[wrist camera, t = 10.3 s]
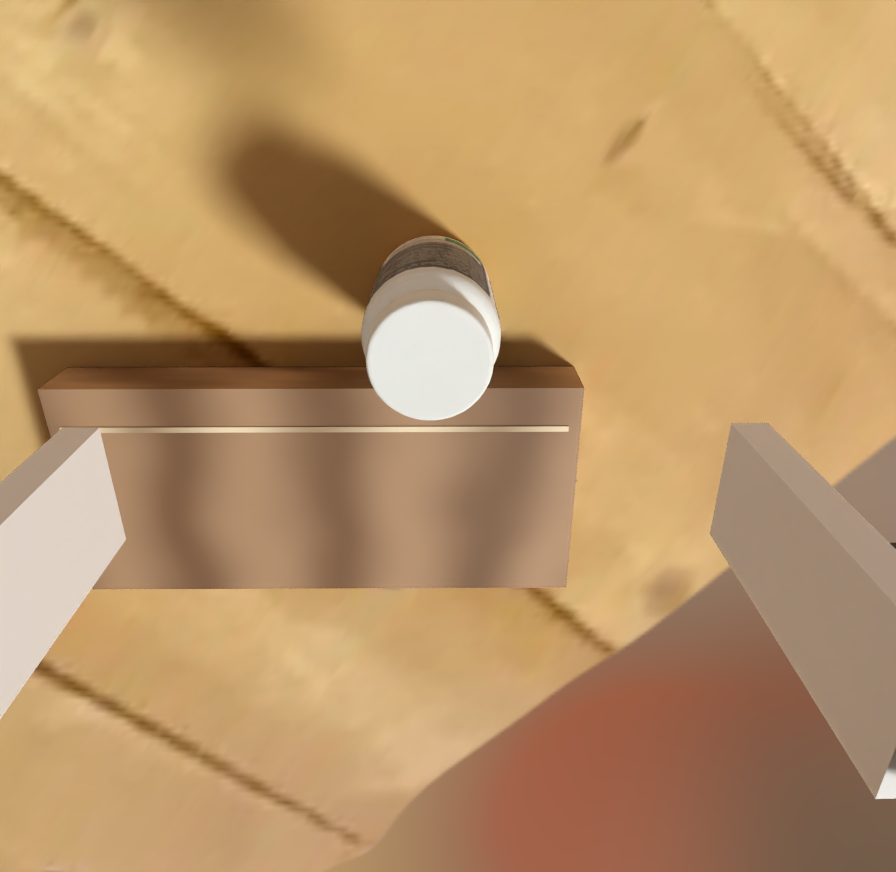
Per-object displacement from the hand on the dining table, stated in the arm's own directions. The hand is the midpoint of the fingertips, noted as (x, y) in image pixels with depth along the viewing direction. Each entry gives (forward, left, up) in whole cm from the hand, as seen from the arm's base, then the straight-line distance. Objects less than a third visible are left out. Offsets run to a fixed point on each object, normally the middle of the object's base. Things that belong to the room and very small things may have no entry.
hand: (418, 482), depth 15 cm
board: (-5, -8, -16) cm, 18 cm away
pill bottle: (0, 0, -16) cm, 16 cm away
